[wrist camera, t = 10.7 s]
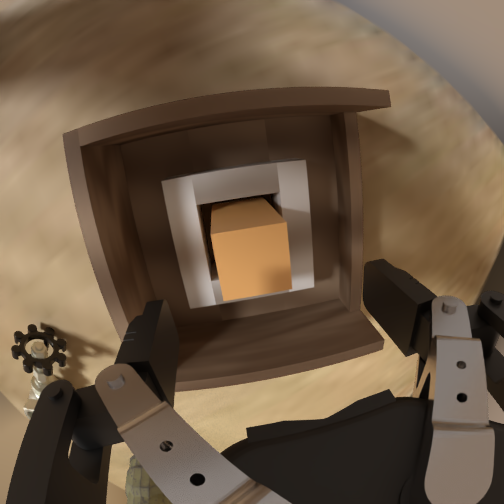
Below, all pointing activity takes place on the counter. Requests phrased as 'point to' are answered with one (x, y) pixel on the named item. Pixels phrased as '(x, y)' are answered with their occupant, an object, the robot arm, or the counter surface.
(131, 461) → the thermos
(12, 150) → the counter surface
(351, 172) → the inlet box
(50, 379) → the valve
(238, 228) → the orange rectangular block
